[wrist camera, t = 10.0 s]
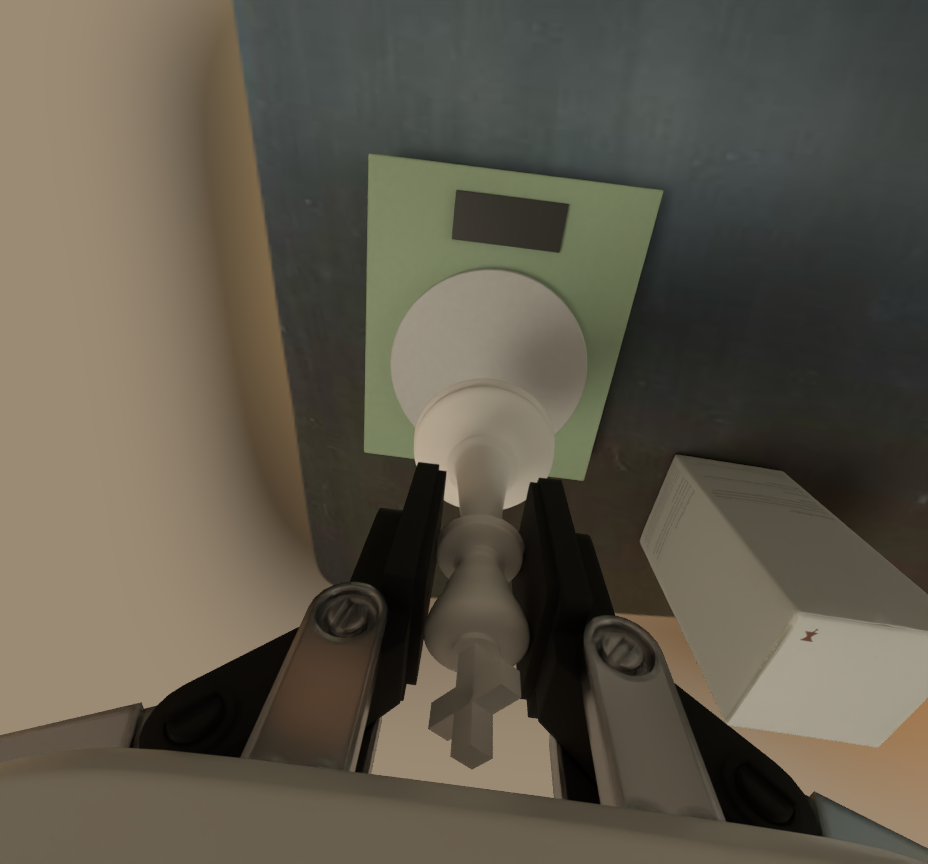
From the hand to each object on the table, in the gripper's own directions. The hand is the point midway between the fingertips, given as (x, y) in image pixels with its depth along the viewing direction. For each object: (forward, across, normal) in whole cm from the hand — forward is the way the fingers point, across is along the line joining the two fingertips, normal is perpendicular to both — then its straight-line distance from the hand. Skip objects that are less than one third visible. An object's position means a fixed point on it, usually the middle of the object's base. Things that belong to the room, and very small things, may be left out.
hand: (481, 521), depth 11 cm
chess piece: (+5, 0, 0) cm, 5 cm away
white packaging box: (+16, -16, +8) cm, 24 cm away
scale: (+16, 0, -2) cm, 16 cm away
